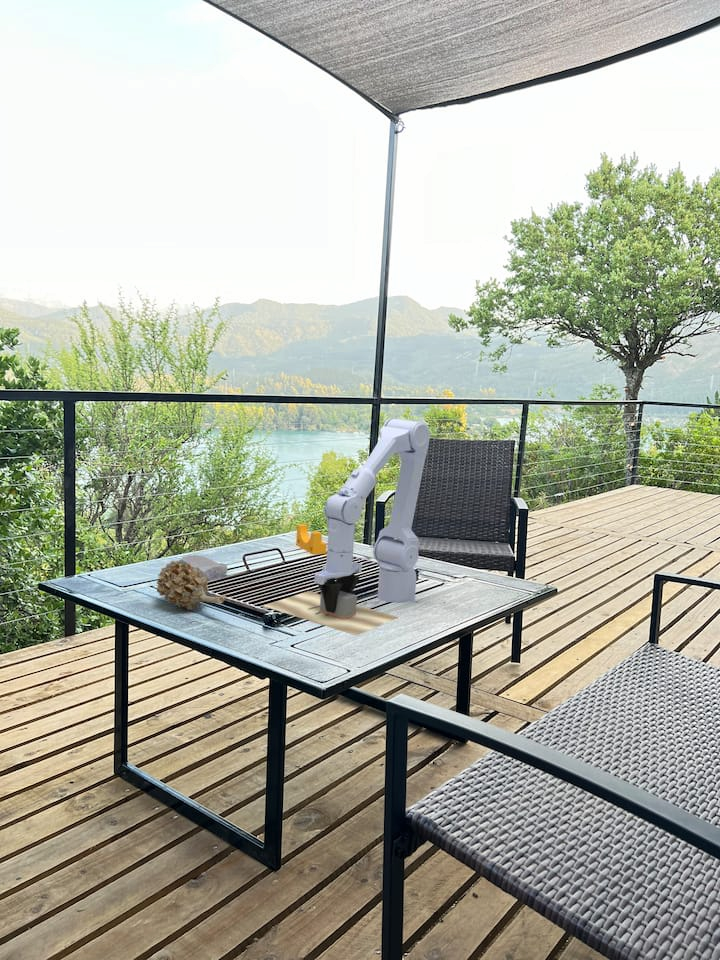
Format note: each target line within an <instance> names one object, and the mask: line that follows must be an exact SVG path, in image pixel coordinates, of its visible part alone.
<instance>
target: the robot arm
mask: <svg viewBox="0 0 720 960" xmlns="http://www.w3.org/2000/svg"><path fill="white" fill-rule="evenodd" d="M431 435H432V434H431V432H430V430H429V427H428V425H427V424H426V423H425V422H424V421H419V420H418V421H416V420H407V419H399V418H395V417H390V418H388V419H386V421H384V423H383V425H382V427H381V428H380V429H379V440H378V442H377V443H376V445H375V446H374V448H373V450H372V452H370V455H369V456H368V458H367V460H366V461H365V462H364V465H363V467H358V468H355V469H354V470H352V472H351V473H350V475H349V477H348V479H347V480H346V481H345V483H344V484H342V487H341V488H340V489H339V491H337V493H334V494H332V495H331V496H329V497H328V498H327V500H326V502H325V504H324V506H323V508H322V509H323V515H324V517H325V519H326V526H327V528H328V530H327V549H326V564H325V565H323V566H322V570H321V571H320V572H317V573H315V574H314V581H313V582H314V584H317V586H318V588H319V589H320V593H321V592H322V595H323V598H324V603H325V608H326V611H328V612H332V613H334V612H335V610H336V606H337V598H338V594H339V591H343V592H347V593H350V594H353V592H354V590H355V588H356V586H357V584H358V583H359V581H360V576H358V575H355V573H358V574H360V573H362V571H363V570H362V567H363V566H362V565H363V564H362V563H360V562H359V563H358V562H357V561H354V562H353V559H354V544H355V529H356V527H355V525H356V523H357V521H358V520H359V519H360V518H361V515H362V513H363V507H364V506H365V505H364V504H365V500H366V499H367V498H368V496H369V495H370V493H371V491H372V490H373V489H374V487H376V485H377V477H376V476H377V475H378V474H379V473H380V471H381V470H382V469H383V468H384V466H385V465H386V464H387V463H388V462H389V460H391V458H392V457H393V456H394V454H395V453H396V454H397V455H398V456H399V457H398V458H399V459H400V460H401V462H400V466H399V467H400V468H399V473H398V479H397V484H396V488H395V493H394V497H393V501H392V508H391V512H390V519H389V522H388V525H386V526H385V527H384V528H382V529H381V530H379V532H378V533H379V534H378V536H377V539H376V542H375V543H374V545H373V550H372V551H373V552H372V553H373V558H374V559H375V560H376V562H377V566H378V567H379V572H378V587H377V598H378V600H381V601H384V602H387V603H388V602H389V603H403V602H407V601H410V602H413V603H418V602H419V600H418V599H416V588H417V573H416V570H415V569H414V567H415V566H416V564H417V562H418V560H419V541H420V539H419V538H418V535H416V534H415V533H414V532H413V530H412V527H413V521H414V517H415V516H414V515H415V511H416V507H417V502H418V496H419V491H420V488H421V487H420V486H421V482H422V476H423V471H424V466H425V461H426V457H427V454H428V450H429V443H430V440H431V439H430V438H431Z"/></svg>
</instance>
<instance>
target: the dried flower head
mask: <svg viewBox="0 0 720 960" xmlns="http://www.w3.org/2000/svg"><path fill="white" fill-rule="evenodd" d="M160 570H161V571H160V572H159V574H157V577H158V579H157V581H156V584H157V587H156V592H157V593H158V594H159V596H162V597H163V596H164V598H163V599H164V601H166V602H167V603H168V604H172V603H173V604H174V606H175V607H177V606H178V608H182V607H184V606H185V608H186V609H187V611H188V610H192V611H193V609H194V608H195V607H196V606H198V607H199V606H200V605H201V603H203V602H206V603H210V604H211V603H212V604H213V603H214V604H224V602H225V600H226V595H225V594H222V595H221V596H210V595H207V594H208V592H209V587H208V582H209V580H206V578H205V577H202V576H201V573H200V571H197V569H196V568H194V569H193V570H192V568H191V565H190V563H189V564H187V563H186V562H184V563H183V564H182V565H181V564H180V563H179V560H176V561H174V560H171V561H170V563H167V564H165V567H162V568H161V569H160Z"/></svg>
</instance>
